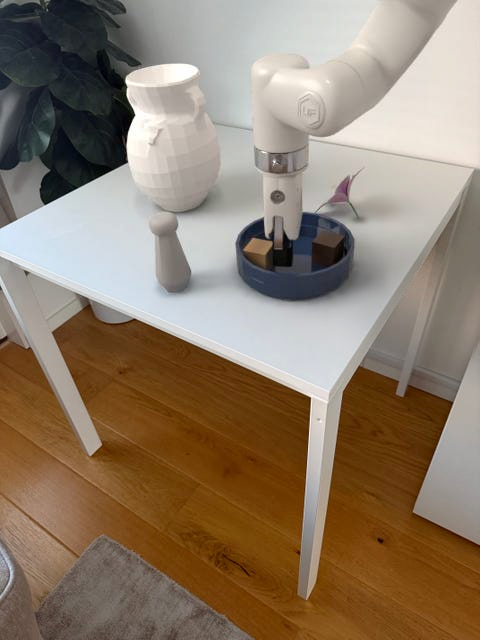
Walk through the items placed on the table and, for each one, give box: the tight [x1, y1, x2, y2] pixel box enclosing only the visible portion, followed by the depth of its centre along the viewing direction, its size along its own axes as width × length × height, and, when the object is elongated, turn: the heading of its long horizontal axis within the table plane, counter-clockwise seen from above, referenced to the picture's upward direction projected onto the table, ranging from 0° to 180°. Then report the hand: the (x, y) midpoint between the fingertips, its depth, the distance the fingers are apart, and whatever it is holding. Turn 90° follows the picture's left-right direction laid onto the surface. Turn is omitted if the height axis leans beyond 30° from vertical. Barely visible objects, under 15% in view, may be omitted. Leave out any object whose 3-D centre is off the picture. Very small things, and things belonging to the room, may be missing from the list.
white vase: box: [125, 63, 221, 213], centre depth 94 cm, size 19×18×25 cm
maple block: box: [243, 238, 273, 271], centre depth 80 cm, size 4×4×4 cm
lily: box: [314, 166, 365, 220], centre depth 91 cm, size 12×12×10 cm
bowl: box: [235, 211, 356, 301], centre depth 80 cm, size 19×19×5 cm
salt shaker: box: [148, 210, 192, 293], centre depth 76 cm, size 6×6×13 cm
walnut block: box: [311, 230, 345, 267], centre depth 80 cm, size 4×4×4 cm
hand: (282, 263), depth 79 cm, fingers closed
